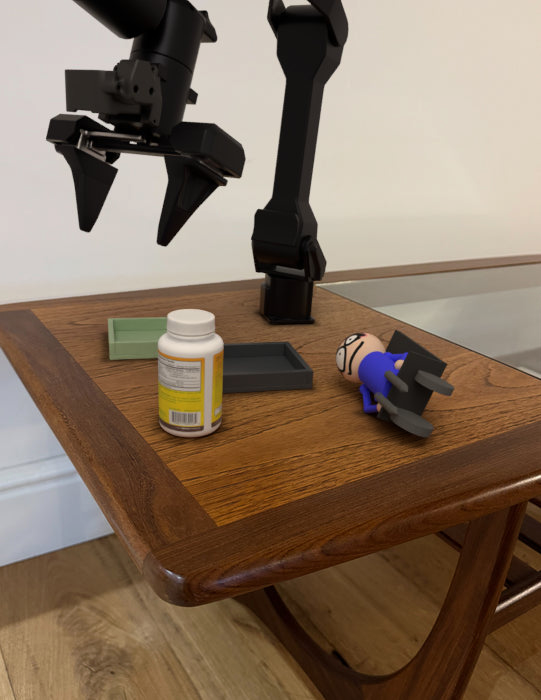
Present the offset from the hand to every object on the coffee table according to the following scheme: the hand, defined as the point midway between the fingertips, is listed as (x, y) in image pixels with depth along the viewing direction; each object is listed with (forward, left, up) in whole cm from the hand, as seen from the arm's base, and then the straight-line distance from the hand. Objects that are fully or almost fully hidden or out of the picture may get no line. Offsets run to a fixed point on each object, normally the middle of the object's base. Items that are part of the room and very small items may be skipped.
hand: (121, 238), depth 55 cm
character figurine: (-24, +8, -15) cm, 30 cm away
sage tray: (-4, -14, -15) cm, 21 cm away
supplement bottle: (-5, +8, -15) cm, 18 cm away
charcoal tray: (-13, -3, -15) cm, 20 cm away
